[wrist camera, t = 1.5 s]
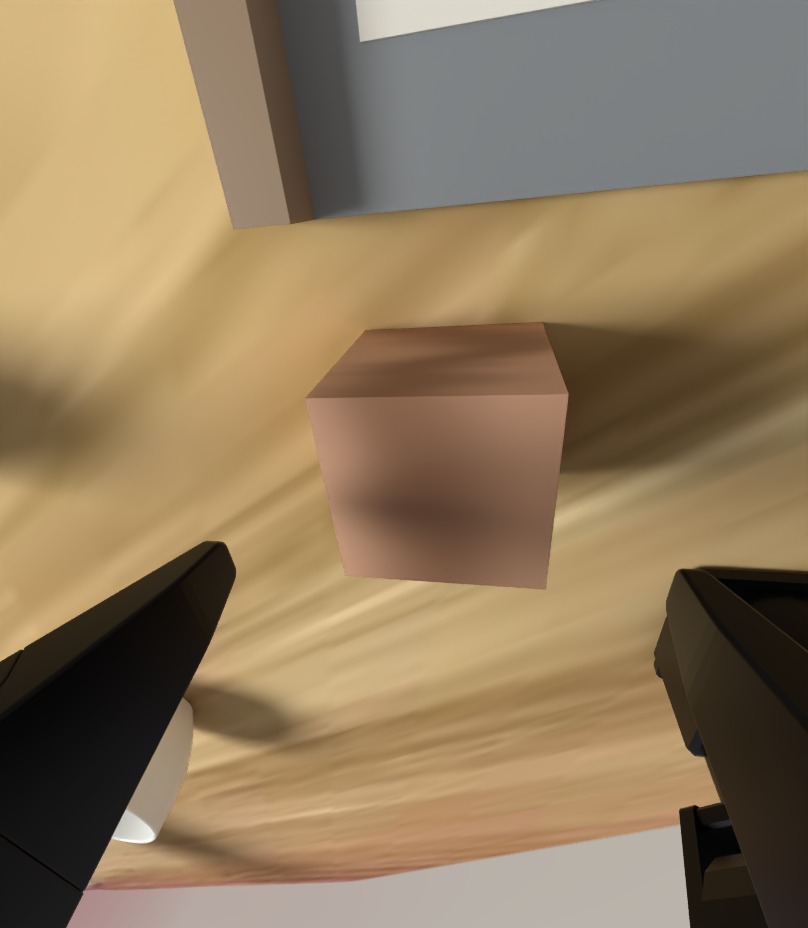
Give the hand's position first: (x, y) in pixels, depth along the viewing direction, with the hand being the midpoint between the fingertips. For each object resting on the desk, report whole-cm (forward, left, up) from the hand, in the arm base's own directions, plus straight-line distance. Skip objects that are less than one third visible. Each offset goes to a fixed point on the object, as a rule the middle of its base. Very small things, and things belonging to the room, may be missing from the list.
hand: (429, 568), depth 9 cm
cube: (0, 0, -8) cm, 8 cm away
